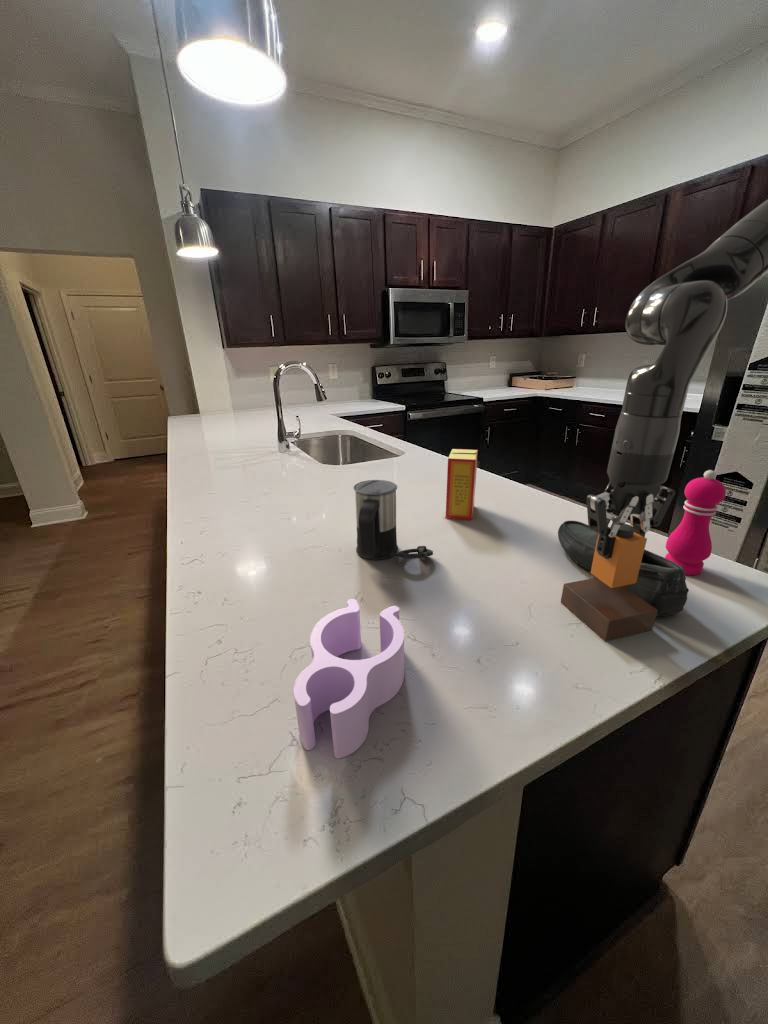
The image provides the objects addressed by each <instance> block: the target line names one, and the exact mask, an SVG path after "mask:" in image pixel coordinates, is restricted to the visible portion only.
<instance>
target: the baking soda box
mask: <svg viewBox="0 0 768 1024" xmlns="http://www.w3.org/2000/svg"><path fill="white" fill-rule="evenodd" d="M478 452H479V449H468V448H466V449H465V448H451V451H450V453H449V455H448V458H447V472H446V473H447V474H446V499H445V519H452V520H453V519H454V520H465V521H472V520H473V513H474V509H475V498H476V497H475V496H476V485H477V483H476V482H477V468H478Z"/></svg>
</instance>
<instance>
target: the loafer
mask: <svg viewBox="0 0 768 1024" xmlns="http://www.w3.org/2000/svg"><path fill="white" fill-rule="evenodd" d="M557 538H558V541H559V543H560V546H561V547H562V549H563V550H564V552H565V554H566V555H568V557H569V559H571V560H572V561H573V562H575V564H577V565H580V567H582V568H584V569H585V570H588V571H590V572H591V568H592V563H593V558H594V553H595V548H596V543H597V538H598V533H597V532H595V531H593V530H591V529H589V527H588V524H587V523H584V522H582V521H578V520H565V521H564V522H563V523H561V524H560V526H559V528H558V530H557ZM686 581H687V576H686V575H685V570H684V569H683V568H682V567H681V566H680V565H678V564H676V563H674V562H672V561H671V560H668V559H666V558H665V556H662V555H659V554H657V553H654V552H651V551H650V550H647V549H646V548H645V549H644V553H643V557H642V561H641V565H640V569H639V573H638V577H637V581H636V583H634V584H630V585H625V586H624V587H625V588H626V589H628V590H629V591H631V592H632V593H634V594H635V595H637V596H638V597H640V598H641V599H642V600H644V601H645V602H647V603H648V604H650V605H651V606H653V607H654V608H656V609H657V610H658V612H657V615H656V617H659V616H661V617H666V616H671V615H675V614H678V613H680V612H682V611H683V610H684V607H685V605H686V603H687V600H688V594H689V591H690V590H689V588H688V586H687V582H686Z"/></svg>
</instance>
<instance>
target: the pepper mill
mask: <svg viewBox="0 0 768 1024" xmlns="http://www.w3.org/2000/svg"><path fill="white" fill-rule="evenodd" d="M716 477H717V473H716V471H715V470H712V469H708V470H706V471H704V473H703V476H701V477H696V478H693V479H691V480H690V481H689V482H688V483H687V484H686V486H685V488H684V496H685V498H686V500H685V501H684V505H682V506H683V507H682V508H683V510H684V514H683V517H682V520H681V521H680V523H679V524H678V526H677V527H676V528H675V529H674V530H673V531H672V532H671V533H670V535H669V536H668V537H667V539H666V541H665V549H666V551H667V553H666V554H665V556H664V558H666V559H668V560H671V561H672V562H674V563H676V564H678V565H680V566H681V567H682V568H683V569H684V570H685V576H686V575H687V576H698V575H700V574H701V573H702V572H703V569H704V566H705V563H704V561H705V560H707V559H709V558H710V556H711V555H712V549H713V542H712V539H711V534H710V523H711V519H712V517H713V516H715V515H716V514H717V510H718V508H719V507H718V504H720V503H722V502H723V501H724V500H725V498H726V495H727V490H726V486H725V485H724V484H723V482H721V481H720V480H718V479H716Z"/></svg>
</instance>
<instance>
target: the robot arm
mask: <svg viewBox="0 0 768 1024" xmlns="http://www.w3.org/2000/svg"><path fill="white" fill-rule="evenodd" d="M767 273H768V199H766V200H765V201H763V202H762V203H760V204H759V205H757V207H755V208H753V210H751V211H750V212H749V213H748V214H746V215H744V216H743V217H742V218H741V219H739V220H738V221H737V222H735V224H733V225H732V226H731V227H730V228H729V229H728V230H726V231H725V232H724V233H723V234H721V235H720V237H718V238H717V239H716V240H715V241H713V242H712V243H711V244H709V246H708V247H707V248H706V249H705V250H703V251H702V252H701V253H699V254H698V255H696V256H694V257H692V258H690V259H689V260H686V261H685V262H683V263H681V264H680V265H678V266H677V267H675V268H673V269H672V270H670V271H668V272H667V273H664V274H663V275H661V276H660V277H658V278H657V279H656V280H654V281H652V282H651V283H650V284H649V285H647V286H646V287H644V289H643V290H641V292H639V294H638V295H637V296H636V297H635V298H634V300H633V302H632V303H631V304H630V306H629V308H628V310H627V313H626V316H625V319H624V320H625V321H624V322H625V323H624V327H625V331H626V334H627V336H628V337H629V338H630V339H631V340H632V341H633V342H635V343H636V344H638V345H639V344H640V345H645V346H663V349H662V351H661V352H660V354H659V356H658V357H657V359H656V361H655V362H654V363H652V364H646V365H642V366H639V367H638V366H637V367H636V368H634V369H633V370H632V371H631V372H630V373H629V376H628V378H627V382H626V385H625V391H624V395H623V401H622V406H621V411H620V414H619V417H618V420H617V423H616V426H615V430H614V434H613V438H612V439H613V440H612V444H611V448H610V449H611V450H610V454H609V459H608V464H607V469H606V474H607V476H608V480H609V481H608V484H607V486H606V488H604V492H602V493H599V494H597V495H595V494H593V493H590V494H588V495H587V496H586V512H587V525H588V527H589V529H591V530H593V531H595V532H597V533H598V534H599V539H598V544H597V552H598V554H599V555H601V556H602V557H604V558H605V559H608V558H611V557H612V552H613V548H614V543H615V540H616V537H615V536H616V534H617V532H618V530H619V528H620V526H621V525H622V524H627V521H628V519H629V518H630V525H631V526H633V527H634V528H635V530H634V532H635V533H637V534H639V535H641V536H643V537H645V538H646V533H648V532H649V531H650V529H651V528H652V527H655V528H658V527H659V526H660V525H661V523H662V521H663V519H664V518H665V515H666V513H667V511H668V509H669V507H670V505H671V503H672V502H673V499H674V497H675V495H676V490H675V489H673V488H670V487H667V486H665V485H662V484H664V483H665V482H666V481H667V480H668V478H669V475H670V471H671V466H672V462H673V459H674V455H675V451H676V447H677V445H678V444H677V443H678V439H679V436H680V430H681V423H682V422H681V421H682V415H683V411H684V409H685V405H686V400H687V397H688V394H689V393H688V392H689V388H690V385H691V383H692V381H693V379H694V377H695V375H696V373H697V372H698V370H699V368H700V367H701V365H702V363H703V361H704V359H705V357H706V356H707V354H708V352H709V350H710V349H711V347H712V345H713V343H714V342H715V340H716V339H717V337H718V335H719V333H720V331H721V330H722V328H723V325H724V322H725V320H726V318H727V312H728V301H729V300H731V299H734V298H736V297H738V296H740V295H741V294H743V293H744V292H745V291H747V290H749V288H750V287H752V286H753V285H754V284H755V283H757V282H758V281H759V280H760V279H761V278H762V277H764V276H765V275H766V274H767ZM655 510H656V513H655V515H654V516H653V512H654V511H655ZM613 512H614V513H616V514H614V513H613ZM617 514H618V515H617ZM611 521H612V523H611ZM610 523H611V525H610V526H609V524H610Z"/></svg>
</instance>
